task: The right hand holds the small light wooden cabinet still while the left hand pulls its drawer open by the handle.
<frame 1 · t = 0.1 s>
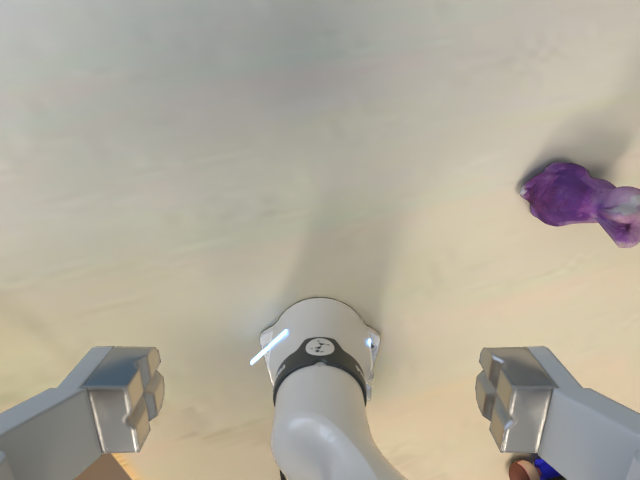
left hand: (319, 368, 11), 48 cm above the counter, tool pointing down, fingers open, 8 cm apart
figurine character: (546, 456, 75), on the counter
figurine: (559, 187, 58), on the counter
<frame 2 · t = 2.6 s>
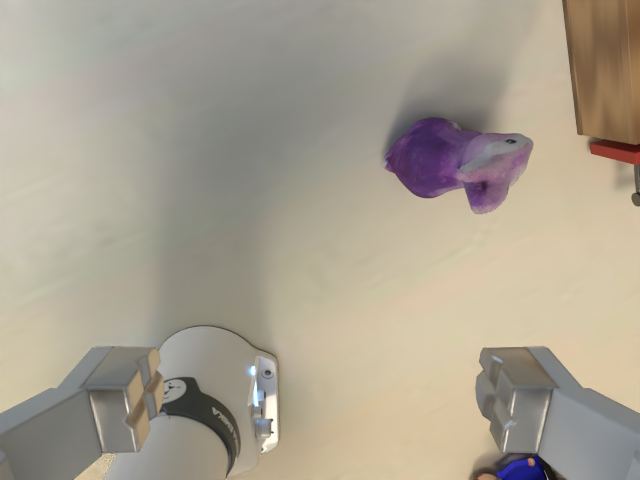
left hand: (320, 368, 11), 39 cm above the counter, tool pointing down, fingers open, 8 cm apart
cabinet: (621, 36, 43), on the counter
figurine character: (514, 464, 63), on the counter
figurine: (436, 149, 47), on the counter
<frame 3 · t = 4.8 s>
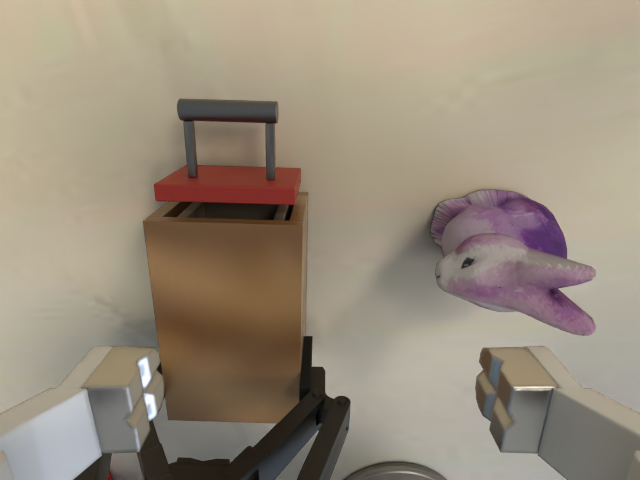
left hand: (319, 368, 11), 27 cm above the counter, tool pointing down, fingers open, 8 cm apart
right hand: (243, 347, 38), fingers closed on cabinet, 11 cm apart
cabinet: (249, 278, 40), on the counter, touching right hand
drawer: (237, 239, 34), point 5 cm above the counter, slide at 1.1 cm
figurine: (477, 231, 38), on the counter
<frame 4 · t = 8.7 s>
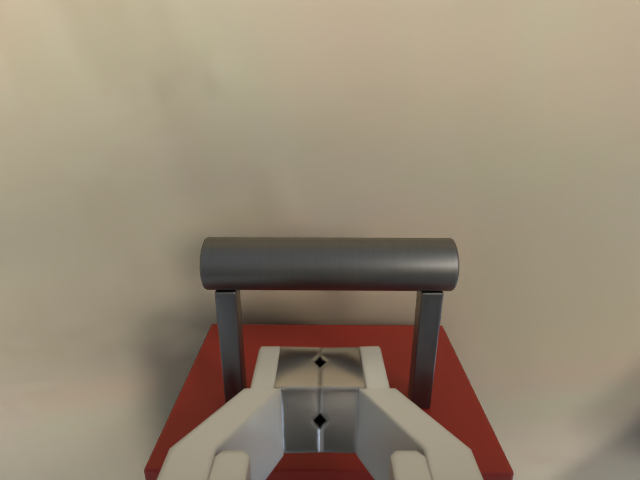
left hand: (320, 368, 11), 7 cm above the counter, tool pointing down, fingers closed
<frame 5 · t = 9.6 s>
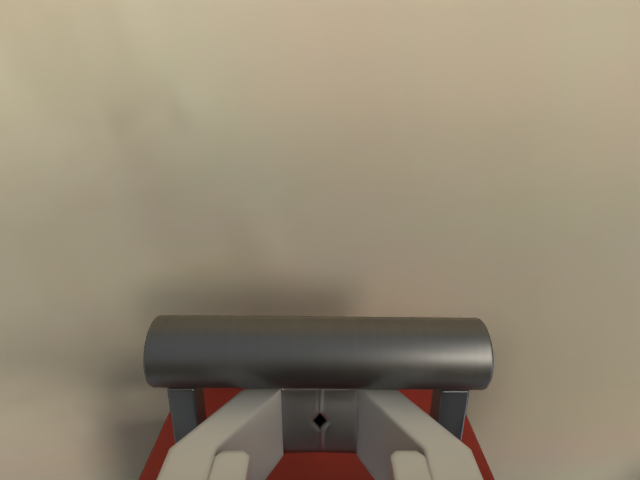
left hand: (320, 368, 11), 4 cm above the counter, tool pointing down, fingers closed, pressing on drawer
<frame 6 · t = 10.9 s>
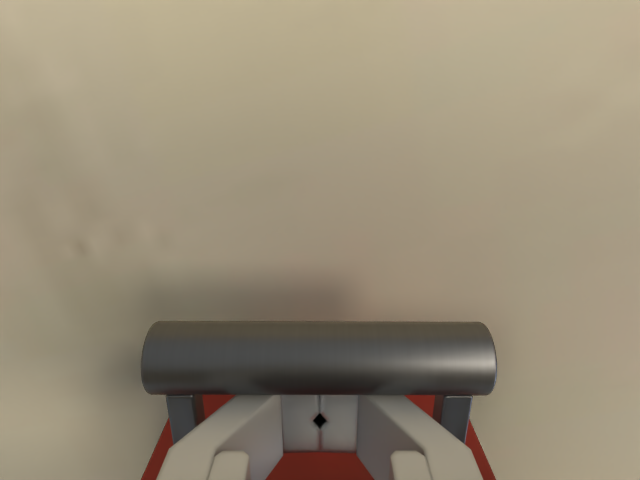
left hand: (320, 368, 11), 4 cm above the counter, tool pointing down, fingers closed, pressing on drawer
when the right hand's fingers open (4 cm above the counter, at t = 12.5 s): cabinet stays where it is, on the counter.
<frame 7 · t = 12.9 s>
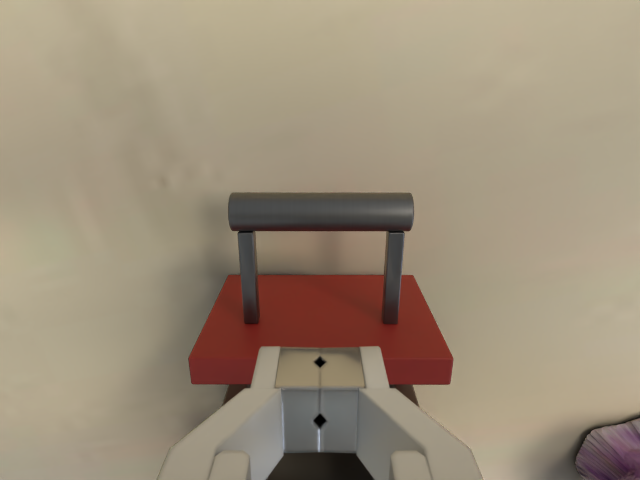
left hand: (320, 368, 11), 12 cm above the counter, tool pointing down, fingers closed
drawer: (320, 403, 20), point 5 cm above the counter, slide at 9.0 cm
figurine: (638, 459, 27), on the counter
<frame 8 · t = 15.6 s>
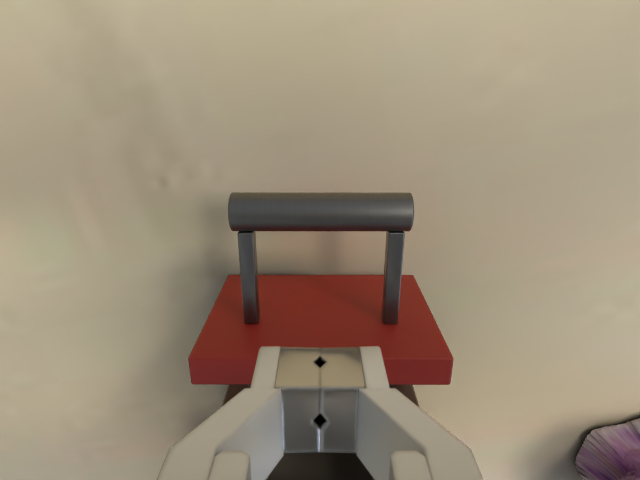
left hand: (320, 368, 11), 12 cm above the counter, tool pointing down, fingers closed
drawer: (320, 403, 20), point 5 cm above the counter, slide at 9.0 cm
figurine: (638, 459, 27), on the counter
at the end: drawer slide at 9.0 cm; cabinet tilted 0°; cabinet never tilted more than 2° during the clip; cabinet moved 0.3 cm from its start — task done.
